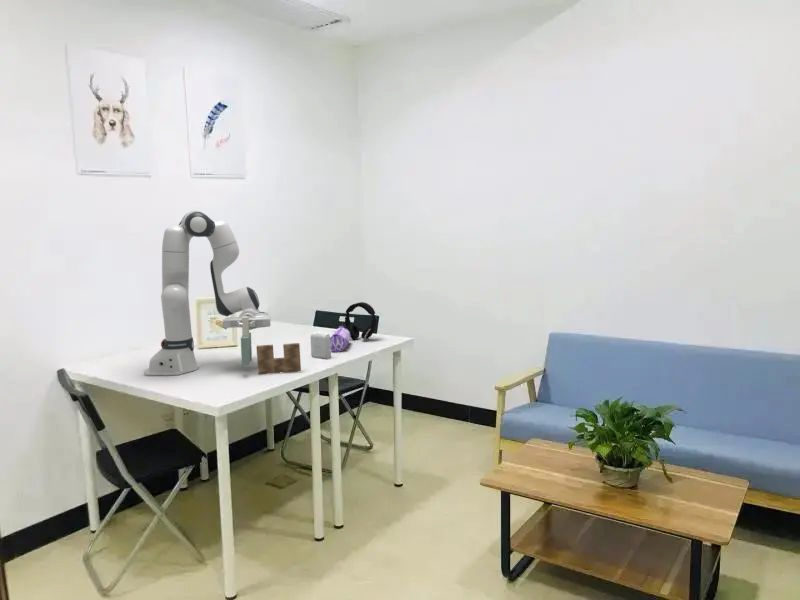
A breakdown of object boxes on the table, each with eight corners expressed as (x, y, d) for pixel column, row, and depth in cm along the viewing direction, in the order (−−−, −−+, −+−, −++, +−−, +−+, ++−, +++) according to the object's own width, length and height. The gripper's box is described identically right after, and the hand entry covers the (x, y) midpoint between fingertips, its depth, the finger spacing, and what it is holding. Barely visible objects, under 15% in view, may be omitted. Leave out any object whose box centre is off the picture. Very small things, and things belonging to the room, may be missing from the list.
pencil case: (333, 343, 322) (332, 325, 320) (351, 342, 322) (350, 325, 320) (328, 353, 300) (327, 334, 299) (347, 352, 300) (346, 333, 298)
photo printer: (332, 357, 291) (331, 331, 289) (326, 359, 287) (325, 333, 285) (316, 355, 296) (314, 329, 295) (309, 357, 293) (308, 331, 291)
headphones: (343, 340, 328) (341, 303, 325) (351, 337, 334) (349, 301, 331) (371, 343, 319) (370, 304, 316) (379, 340, 326) (378, 302, 323)
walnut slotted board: (258, 374, 265) (256, 346, 263) (258, 372, 267) (256, 345, 265) (300, 371, 267) (299, 344, 265) (300, 370, 269) (299, 343, 268)
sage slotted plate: (241, 366, 260) (239, 319, 257) (245, 359, 272) (243, 314, 269) (249, 366, 261) (247, 319, 258) (251, 359, 272) (250, 314, 270)
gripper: (224, 313, 275) (219, 318, 261) (271, 312, 278) (269, 317, 264) (225, 327, 276) (220, 333, 262) (271, 326, 278) (269, 331, 265)
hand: (245, 325), depth 263 cm, fingers closed on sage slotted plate, 2 cm apart
